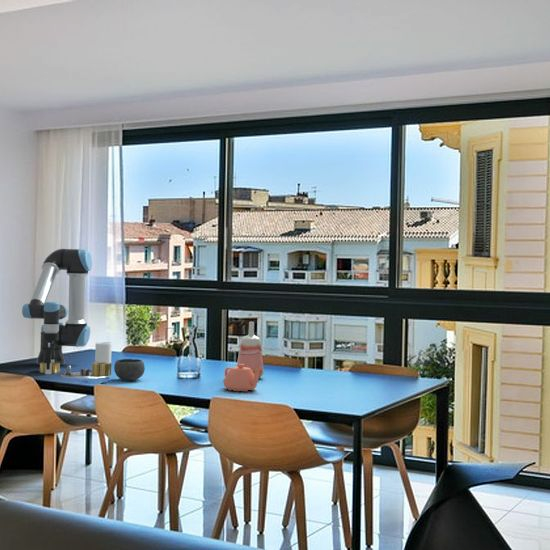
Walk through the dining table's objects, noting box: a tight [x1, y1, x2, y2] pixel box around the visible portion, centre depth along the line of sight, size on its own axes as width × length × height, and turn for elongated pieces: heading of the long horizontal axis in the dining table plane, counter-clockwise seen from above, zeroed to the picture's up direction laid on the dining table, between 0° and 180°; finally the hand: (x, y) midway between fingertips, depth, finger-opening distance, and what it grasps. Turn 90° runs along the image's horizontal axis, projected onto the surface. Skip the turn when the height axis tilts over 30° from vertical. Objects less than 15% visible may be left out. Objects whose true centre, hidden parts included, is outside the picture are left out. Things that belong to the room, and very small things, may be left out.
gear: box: [39, 362, 61, 374], centre depth 399 cm, size 10×10×6 cm
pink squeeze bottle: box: [236, 321, 264, 378], centre depth 412 cm, size 14×14×30 cm
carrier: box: [59, 367, 110, 383], centre depth 393 cm, size 24×24×6 cm
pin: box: [65, 365, 72, 375], centre depth 392 cm, size 2×2×4 cm
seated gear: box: [90, 361, 112, 378], centre depth 395 cm, size 10×10×6 cm
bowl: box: [113, 358, 146, 382], centre depth 391 cm, size 15×15×10 cm
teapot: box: [222, 364, 262, 392], centre depth 372 cm, size 22×16×12 cm
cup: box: [94, 341, 113, 364], centre depth 411 cm, size 8×8×16 cm
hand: (49, 374), depth 399 cm, fingers open, 13 cm apart
